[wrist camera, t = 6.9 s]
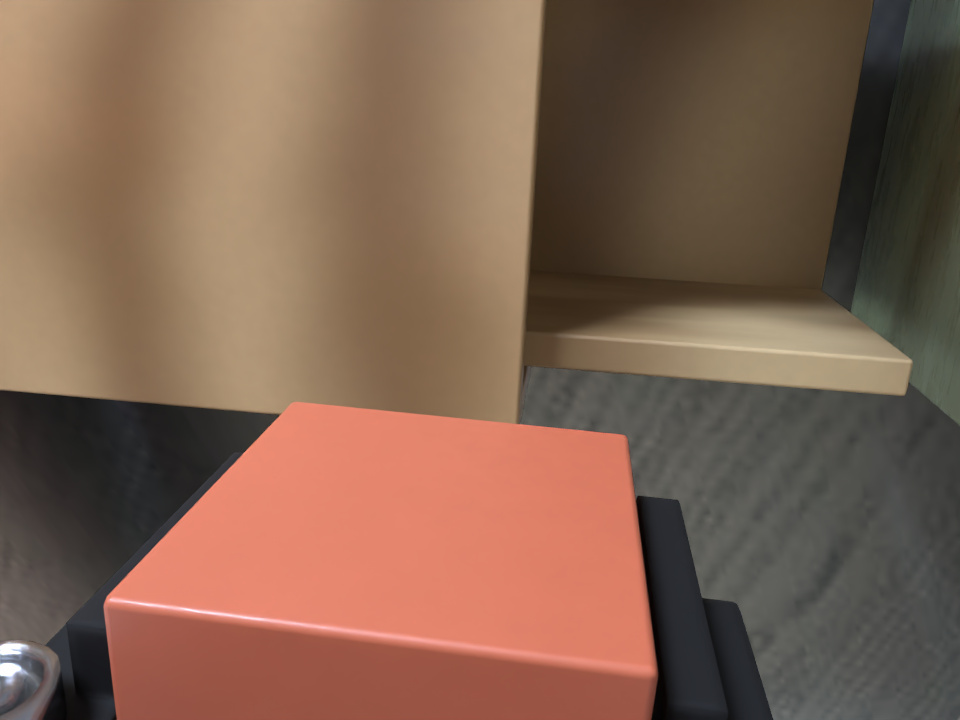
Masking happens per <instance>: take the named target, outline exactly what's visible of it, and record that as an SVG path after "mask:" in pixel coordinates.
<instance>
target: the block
mask: <svg viewBox="0 0 960 720" xmlns="http://www.w3.org/2000/svg"><path fill="white" fill-rule="evenodd" d="M104 616H105V624H106V633H107V641H108V649H109V658H110V666H111V675H112V683H113V692H114V700H115V709H116V717H117V720H651V719H652V712H653V706H654V700H655V693H656V687H657V681H658V667H657V659H656V651H655V644H654V636H653V628H652V620H651V613H650V605H649V597H648V589H647V582H646V574H645V566H644V558H643V551H642V543H641V535H640V528H639V520H638V512H637V504H636V497H635V489H634V481H633V473H632V466H631V458H630V450H629V442H628V439H627V437H626V436H624V435H621V434H612V433H602V432H592V431H582V430H572V429H562V428H552V427H542V426H532V425H522V424H512V423H502V422H493V421H483V420H473V419H463V418H453V417H443V416H433V415H423V414H413V413H403V412H393V411H383V410H373V409H364V408H354V407H344V406H334V405H324V404H314V403H304V402H293V403H291V404H290V405H289V406H288V407H287V408H286V409H285V411H284V412H283V413H282V414H281V415H280V416H279V417H278V418H277V419H276V420H275V421H274V422H273V423H272V424H271V425H270V426H269V427H268V428H267V429H266V430H265V431H264V433H263V434H262V435H261V436H260V437H259V438H258V439H257V440H256V441H255V442H254V443H253V444H252V445H251V446H250V447H249V448H248V449H247V450H246V451H245V452H244V453H243V454H242V456H241V457H240V458H239V459H238V460H237V461H236V462H235V463H234V464H233V465H232V466H231V467H230V468H229V469H228V470H227V471H226V472H225V473H224V474H223V475H222V476H221V478H220V479H219V480H218V481H217V482H216V483H215V484H214V485H213V486H212V487H211V488H210V489H209V490H208V491H207V492H206V493H205V494H204V495H203V496H202V497H201V498H200V499H199V501H198V502H197V503H196V504H195V505H194V506H193V507H192V508H191V509H190V510H189V511H188V512H187V513H186V514H185V515H184V516H183V517H182V518H181V519H180V520H179V521H178V523H177V524H176V525H175V526H174V527H173V528H172V529H171V530H170V531H169V532H168V533H167V534H166V535H165V536H164V537H163V538H162V539H161V540H160V541H159V542H158V543H157V544H156V546H155V547H154V548H153V549H152V550H151V551H150V552H149V553H148V554H147V555H146V556H145V557H144V558H143V559H142V560H141V561H140V562H139V563H138V564H137V565H136V566H135V568H134V569H133V570H132V571H131V572H130V573H129V574H128V575H127V576H126V577H125V578H124V579H123V580H122V581H121V582H120V583H119V584H118V585H117V586H116V587H115V588H114V589H113V591H112V592H111V593H110V594H109V595H108V596H107V597H106V600H105V603H104Z"/></svg>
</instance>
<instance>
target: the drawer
mask: <svg viewBox="0 0 960 720" xmlns="http://www.w3.org/2000/svg"><path fill="white" fill-rule="evenodd" d="M873 4H874V0H547V5H546V21H545V37H544V53H543V69H542V85H541V101H540V117H539V133H538V149H537V165H536V181H535V197H534V213H533V229H532V245H531V261H530V277H529V294H528V310H527V326H526V342H525V358H524V366H530V367H543V368H556V369H568V370H581V371H593V372H606V373H619V374H631V375H644V376H657V377H669V378H682V379H694V380H707V381H720V382H732V383H745V384H758V385H770V386H783V387H795V388H808V389H821V390H833V391H846V392H859V393H871V394H884V395H896V396H903V395H905V394H906V393H907V388H908V384H909V383H910V384H911V385H912V386H914V387H915V388H916V389H917V390H918V391H919V392H921V393H922V394H923V395H924V396H925V397H926V398H928V399H929V400H930V401H931V402H932V403H934V404H935V405H936V406H937V407H938V408H939V409H941V410H942V411H943V412H944V413H945V414H947V415H948V416H949V417H950V418H951V419H952V420H954V421H955V422H956V423H957V424H958V425H959V426H960V0H911V5H910V10H909V15H908V20H907V25H906V30H905V36H904V41H903V46H902V51H901V56H900V61H899V66H898V72H897V77H896V82H895V87H894V92H893V97H892V102H891V107H890V113H889V118H888V123H887V128H886V133H885V138H884V143H883V149H882V154H881V159H880V164H879V169H878V174H877V179H876V184H875V190H874V195H873V200H872V205H871V210H870V215H869V220H868V226H867V231H866V236H865V241H864V246H863V251H862V256H861V261H860V267H859V272H858V277H857V282H856V287H855V292H854V297H853V303H852V308H851V313H850V312H849V311H848V310H847V309H845V308H844V307H843V306H841V305H840V304H839V303H837V302H836V301H835V300H834V299H832V298H831V297H830V296H828V295H827V294H826V293H825V292H823V291H822V285H823V279H824V274H825V268H826V263H827V257H828V252H829V246H830V241H831V235H832V230H833V224H834V219H835V213H836V208H837V202H838V197H839V191H840V186H841V180H842V175H843V169H844V164H845V158H846V153H847V147H848V141H849V136H850V130H851V125H852V119H853V114H854V108H855V103H856V97H857V92H858V86H859V81H860V75H861V70H862V64H863V59H864V53H865V48H866V42H867V37H868V31H869V26H870V20H871V15H872V9H873Z"/></svg>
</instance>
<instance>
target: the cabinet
mask: <svg viewBox="0 0 960 720" xmlns="http://www.w3.org/2000/svg"><path fill="white" fill-rule="evenodd" d="M546 5H547V0H0V390H6V391H18V392H29V393H40V394H51V395H63V396H74V397H85V398H96V399H108V400H119V401H130V402H141V403H153V404H164V405H175V406H186V407H198V408H209V409H220V410H232V411H243V412H254V413H265V414H277V415H281V414H282V413H283V412H284V411H285V409H286V408H287V407H288V406H289V405H290V404H291V403H293V402H304V403H314V404H324V405H334V406H344V407H354V408H364V409H373V410H383V411H393V412H403V413H413V414H423V415H433V416H443V417H453V418H463V419H473V420H483V421H493V422H502V423H512V424H520V422H521V418H522V413H523V408H524V403H525V398H526V393H527V388H528V383H529V378H530V373H531V368H532V367H530V366H524V358H525V342H526V326H527V310H528V294H529V277H530V261H531V245H532V229H533V213H534V197H535V181H536V165H537V149H538V133H539V117H540V101H541V85H542V69H543V53H544V37H545V21H546Z"/></svg>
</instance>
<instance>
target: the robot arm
mask: <svg viewBox="0 0 960 720" xmlns="http://www.w3.org/2000/svg"><path fill="white" fill-rule="evenodd" d="M242 454H243V453H238V452H235V453H234V454H232V455H231V456H230V457H229V458H228V459H227V460H226V461H225V462H224V463H223V464H222V465H221V466H220V467H219V468H218V469H217V470H216V471H215V473H214V474H213V475H212V476H211V477H210V478H209V479H208V480H207V481H206V482H205V483H204V484H203V485H202V486H201V487H200V488H199V489H198V490H197V491H196V492H195V493H194V494H193V495H192V496H191V497H190V498H189V499H188V500H187V501H186V502H185V503H184V504H183V505H182V506H181V507H180V508H179V509H178V510H177V511H176V512H175V513H174V514H173V515H172V516H171V517H170V518H169V519H168V520H167V521H166V522H165V523H164V524H163V525H162V526H161V527H160V528H159V529H158V530H157V531H156V532H155V534H154V535H153V536H152V537H151V538H150V539H149V540H148V541H147V542H146V543H145V544H144V545H143V546H142V547H141V548H140V549H139V550H138V551H137V552H136V553H135V554H134V555H133V556H132V557H131V558H130V559H129V560H128V561H127V562H126V563H125V564H124V565H123V566H122V567H121V568H120V569H119V570H118V571H117V572H116V573H115V574H114V575H113V576H112V577H111V578H110V579H109V580H108V581H107V582H106V583H105V584H104V585H103V586H102V587H101V588H100V589H99V590H98V591H97V592H96V593H95V594H94V596H93V597H92V598H91V599H90V600H89V601H88V602H87V603H86V604H85V605H84V606H83V607H82V608H81V609H80V610H79V611H78V612H77V613H76V614H75V615H74V616H73V617H72V618H71V619H70V620H69V621H68V622H67V623H66V625H65V626H64V627H63V628H62V629H61V630H60V631H59V632H58V633H57V634H56V635H55V636H54V637H53V638H52V639H51V640H50V641H49V642H48V643H47V644H46V645H42V644H39V643H36V642H33V641H22V640H8V641H0V720H117V717H116V709H115V700H114V692H113V683H112V675H111V666H110V658H109V649H108V641H107V633H106V624H105V616H104V603H105V600H106V597H107V596H108V595H109V594H110V593H111V592H112V591H113V589H114V588H115V587H116V586H117V585H118V584H119V583H120V582H121V581H122V580H123V579H124V578H125V577H126V576H127V575H128V574H129V573H130V572H131V571H132V570H133V569H134V568H135V566H136V565H137V564H138V563H139V562H140V561H141V560H142V559H143V558H144V557H145V556H146V555H147V554H148V553H149V552H150V551H151V550H152V549H153V548H154V547H155V546H156V544H157V543H158V542H159V541H160V540H161V539H162V538H163V537H164V536H165V535H166V534H167V533H168V532H169V531H170V530H171V529H172V528H173V527H174V526H175V525H176V524H177V523H178V521H179V520H180V519H181V518H182V517H183V516H184V515H185V514H186V513H187V512H188V511H189V510H190V509H191V508H192V507H193V506H194V505H195V504H196V503H197V502H198V501H199V499H200V498H201V497H202V496H203V495H204V494H205V493H206V492H207V491H208V490H209V489H210V488H211V487H212V486H213V485H214V484H215V483H216V482H217V481H218V480H219V479H220V478H221V476H222V475H223V474H224V473H225V472H226V471H227V470H228V469H229V468H230V467H231V466H232V465H233V464H234V463H235V462H236V461H237V460H238V459H239V458H240V457H241V456H242ZM636 504H637V512H638V520H639V528H640V535H641V543H642V551H643V558H644V566H645V574H646V582H647V589H648V597H649V605H650V613H651V620H652V628H653V636H654V644H655V651H656V659H657V667H658V681H657V687H656V693H655V700H654V706H653V712H652V719H651V720H773V718H772V714H771V711H770V708H769V704H768V701H767V698H766V694H765V691H764V688H763V684H762V681H761V678H760V675H759V671H758V668H757V665H756V661H755V658H754V655H753V651H752V648H751V645H750V642H749V638H748V635H747V632H746V628H745V625H744V622H743V618H742V615H741V612H740V610H739V607H738V605H737V604H736V603H734V602H729V601H721V600H713V599H705V598H702V597H701V593H700V589H699V584H698V580H697V576H696V571H695V567H694V563H693V559H692V554H691V550H690V546H689V541H688V537H687V533H686V529H685V524H684V520H683V516H682V511H681V507H680V503H679V501H678V500H672V499H663V498H654V497H645V496H638V497H637V500H636Z"/></svg>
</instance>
